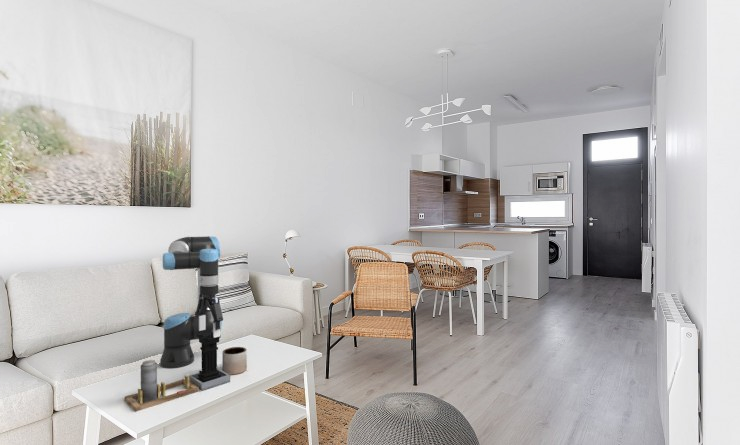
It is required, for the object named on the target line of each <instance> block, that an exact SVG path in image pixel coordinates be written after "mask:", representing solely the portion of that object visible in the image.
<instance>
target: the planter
mask: <svg viewBox="0 0 740 445" xmlns="http://www.w3.org/2000/svg"><path fill="white" fill-rule="evenodd" d="M247 350H248V349H247V348H246V347H242V346H233V347H228V348H226V349H223V350H222V352H221V353H222V357H221V359H222V361H221V362H222V365H221V367H222V368H221V370H222V371H224V372H225V373H227V374H229V375H230V376H234V375H235V376H236V375H240V374H243V373H244V372H245V371H247V368H248V362H247V361H248V360H247V358H248V355H247V353H248V352H247Z"/></svg>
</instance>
